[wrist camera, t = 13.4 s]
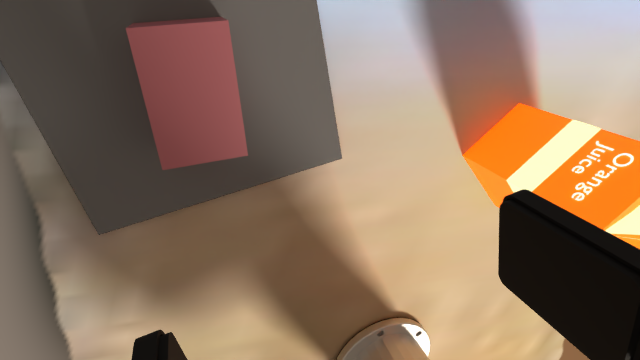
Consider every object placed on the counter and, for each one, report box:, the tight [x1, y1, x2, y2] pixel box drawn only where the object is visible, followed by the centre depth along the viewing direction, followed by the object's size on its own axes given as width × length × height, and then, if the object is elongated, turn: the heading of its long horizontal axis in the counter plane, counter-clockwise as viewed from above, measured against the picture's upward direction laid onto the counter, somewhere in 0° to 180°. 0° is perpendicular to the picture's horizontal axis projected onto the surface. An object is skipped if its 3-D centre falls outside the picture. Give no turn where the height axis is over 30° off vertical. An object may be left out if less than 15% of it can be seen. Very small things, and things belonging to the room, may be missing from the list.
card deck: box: [126, 17, 248, 170], centre depth 25 cm, size 6×8×4 cm, turn 3°
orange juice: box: [463, 103, 640, 249], centre depth 32 cm, size 8×9×20 cm
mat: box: [0, 0, 342, 235], centre depth 27 cm, size 18×20×1 cm
